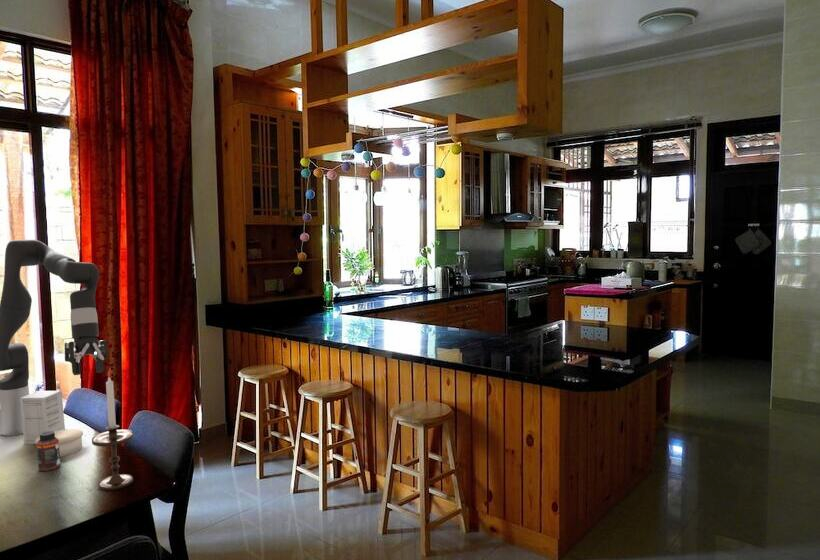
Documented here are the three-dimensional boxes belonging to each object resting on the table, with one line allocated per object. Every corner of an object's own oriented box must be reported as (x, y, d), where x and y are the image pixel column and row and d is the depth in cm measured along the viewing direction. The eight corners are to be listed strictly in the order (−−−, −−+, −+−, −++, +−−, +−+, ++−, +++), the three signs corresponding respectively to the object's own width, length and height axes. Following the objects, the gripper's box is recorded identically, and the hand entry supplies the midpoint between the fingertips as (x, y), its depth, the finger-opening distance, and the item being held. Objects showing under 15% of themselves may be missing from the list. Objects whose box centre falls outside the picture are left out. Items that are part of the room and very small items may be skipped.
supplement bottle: (65, 465, 184) (62, 431, 183) (46, 473, 178) (43, 437, 177) (52, 462, 186) (50, 428, 185) (34, 469, 181) (31, 434, 180)
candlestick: (143, 482, 170) (135, 365, 167) (104, 495, 162) (96, 373, 159) (126, 472, 177) (119, 360, 174) (88, 485, 169) (80, 367, 166)
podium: (27, 459, 189) (26, 444, 189) (49, 443, 203) (48, 430, 203) (72, 457, 190) (70, 442, 190) (91, 441, 204) (90, 428, 204)
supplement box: (66, 435, 212) (63, 390, 210) (48, 444, 203) (44, 397, 201) (42, 434, 213) (38, 390, 211) (23, 444, 204) (19, 397, 202)
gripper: (94, 324, 193) (98, 373, 191) (55, 325, 180) (59, 377, 178) (111, 321, 191) (115, 370, 189) (74, 321, 177) (78, 374, 176)
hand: (88, 373), depth 183 cm, fingers open, 8 cm apart
